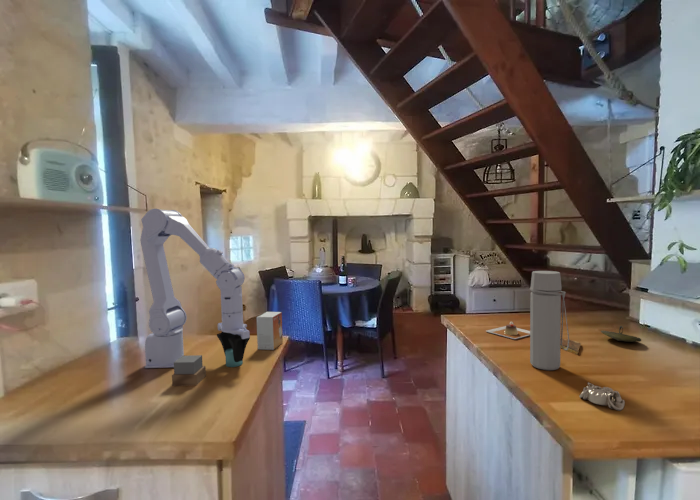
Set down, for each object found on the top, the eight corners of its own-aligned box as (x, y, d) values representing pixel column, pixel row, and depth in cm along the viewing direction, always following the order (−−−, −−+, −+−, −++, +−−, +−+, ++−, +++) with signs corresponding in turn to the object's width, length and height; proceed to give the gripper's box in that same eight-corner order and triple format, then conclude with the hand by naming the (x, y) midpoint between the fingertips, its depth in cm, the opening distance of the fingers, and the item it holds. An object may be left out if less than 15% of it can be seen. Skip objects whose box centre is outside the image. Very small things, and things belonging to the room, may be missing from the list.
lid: (595, 341, 121) (595, 326, 120) (607, 335, 127) (607, 320, 126) (635, 349, 112) (635, 333, 112) (646, 342, 118) (646, 327, 118)
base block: (172, 387, 94) (171, 375, 94) (182, 377, 100) (182, 366, 100) (196, 386, 94) (196, 374, 94) (205, 377, 100) (205, 365, 100)
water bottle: (531, 370, 98) (531, 273, 97) (528, 360, 106) (528, 270, 104) (571, 374, 95) (572, 274, 94) (566, 363, 102) (566, 270, 101)
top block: (174, 374, 94) (173, 362, 94) (183, 366, 99) (182, 355, 99) (194, 374, 94) (193, 362, 94) (202, 366, 99) (202, 355, 99)
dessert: (515, 342, 124) (515, 327, 124) (485, 333, 134) (485, 320, 134) (537, 336, 130) (537, 322, 130) (507, 328, 140) (507, 315, 140)
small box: (273, 350, 120) (272, 317, 119) (257, 349, 121) (255, 316, 120) (283, 342, 127) (282, 311, 127) (267, 342, 128) (266, 311, 128)
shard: (577, 356, 109) (577, 350, 109) (548, 352, 113) (548, 346, 113) (581, 346, 117) (581, 341, 117) (553, 343, 122) (553, 337, 122)
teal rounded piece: (223, 367, 106) (222, 353, 105) (228, 361, 110) (228, 347, 110) (240, 366, 106) (239, 352, 105) (244, 361, 110) (244, 347, 110)
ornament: (631, 406, 79) (631, 388, 78) (616, 415, 75) (616, 397, 75) (589, 392, 85) (590, 376, 85) (573, 400, 82) (574, 383, 81)
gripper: (258, 312, 105) (260, 361, 106) (232, 305, 115) (234, 350, 116) (235, 317, 100) (237, 368, 101) (210, 309, 110) (212, 356, 111)
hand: (234, 359), depth 108 cm, fingers closed on teal rounded piece, 5 cm apart
